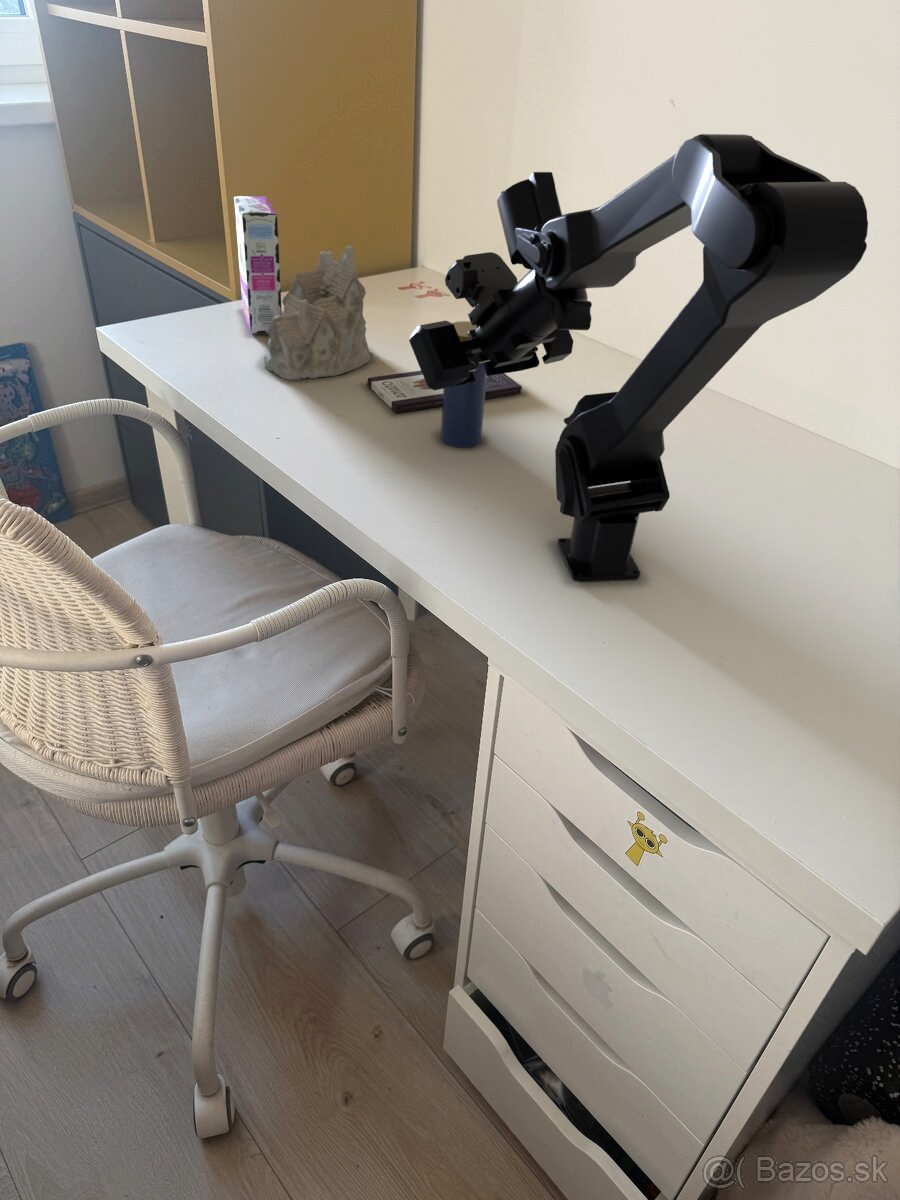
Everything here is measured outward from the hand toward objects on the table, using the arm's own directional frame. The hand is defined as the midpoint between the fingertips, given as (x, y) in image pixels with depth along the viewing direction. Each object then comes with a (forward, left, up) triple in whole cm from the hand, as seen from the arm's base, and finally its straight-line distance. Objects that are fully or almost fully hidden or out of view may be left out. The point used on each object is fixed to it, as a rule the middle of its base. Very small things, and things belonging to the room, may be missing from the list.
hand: (457, 377), depth 94 cm
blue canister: (-1, -1, -7) cm, 7 cm away
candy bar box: (+38, +23, -7) cm, 45 cm away
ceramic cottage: (+25, +16, -7) cm, 31 cm away
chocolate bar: (+13, -1, -7) cm, 15 cm away
